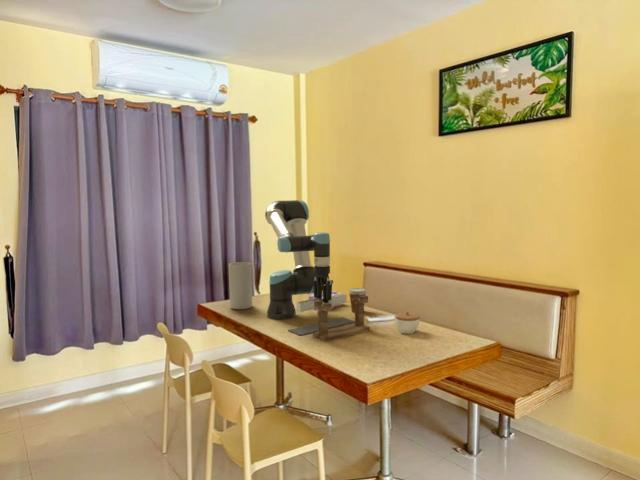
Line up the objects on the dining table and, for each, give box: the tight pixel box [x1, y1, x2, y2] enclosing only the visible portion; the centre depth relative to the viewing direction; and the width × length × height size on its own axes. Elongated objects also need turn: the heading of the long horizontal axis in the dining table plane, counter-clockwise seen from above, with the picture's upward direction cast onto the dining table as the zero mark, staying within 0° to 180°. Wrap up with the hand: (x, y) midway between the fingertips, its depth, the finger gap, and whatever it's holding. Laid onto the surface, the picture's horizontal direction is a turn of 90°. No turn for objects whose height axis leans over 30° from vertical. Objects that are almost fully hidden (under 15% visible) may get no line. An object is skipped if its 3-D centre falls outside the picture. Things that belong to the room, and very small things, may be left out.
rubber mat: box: [287, 316, 355, 336], centre depth 219 cm, size 10×34×1 cm, turn 128°
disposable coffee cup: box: [348, 287, 367, 314], centre depth 246 cm, size 10×10×12 cm
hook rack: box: [312, 293, 371, 342], centre depth 208 cm, size 10×26×16 cm, turn 128°
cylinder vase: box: [228, 261, 253, 310], centre depth 259 cm, size 12×12×25 cm
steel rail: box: [296, 293, 348, 313], centre depth 218 cm, size 3×28×4 cm, turn 128°
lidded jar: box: [395, 311, 420, 335], centre depth 209 cm, size 11×11×9 cm
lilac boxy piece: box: [308, 290, 343, 311], centre depth 259 cm, size 20×12×7 cm, turn 130°
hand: (322, 313), depth 219 cm, fingers closed on steel rail, 3 cm apart
